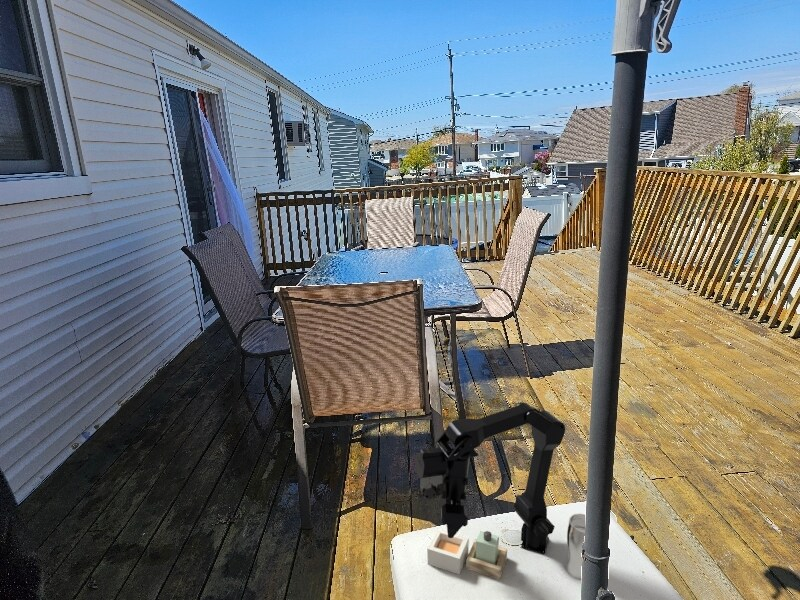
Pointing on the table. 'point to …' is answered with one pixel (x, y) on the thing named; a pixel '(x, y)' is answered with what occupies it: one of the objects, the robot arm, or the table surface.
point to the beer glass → (575, 544)
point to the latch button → (448, 547)
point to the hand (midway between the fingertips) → (449, 524)
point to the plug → (487, 547)
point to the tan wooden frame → (486, 563)
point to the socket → (447, 558)
